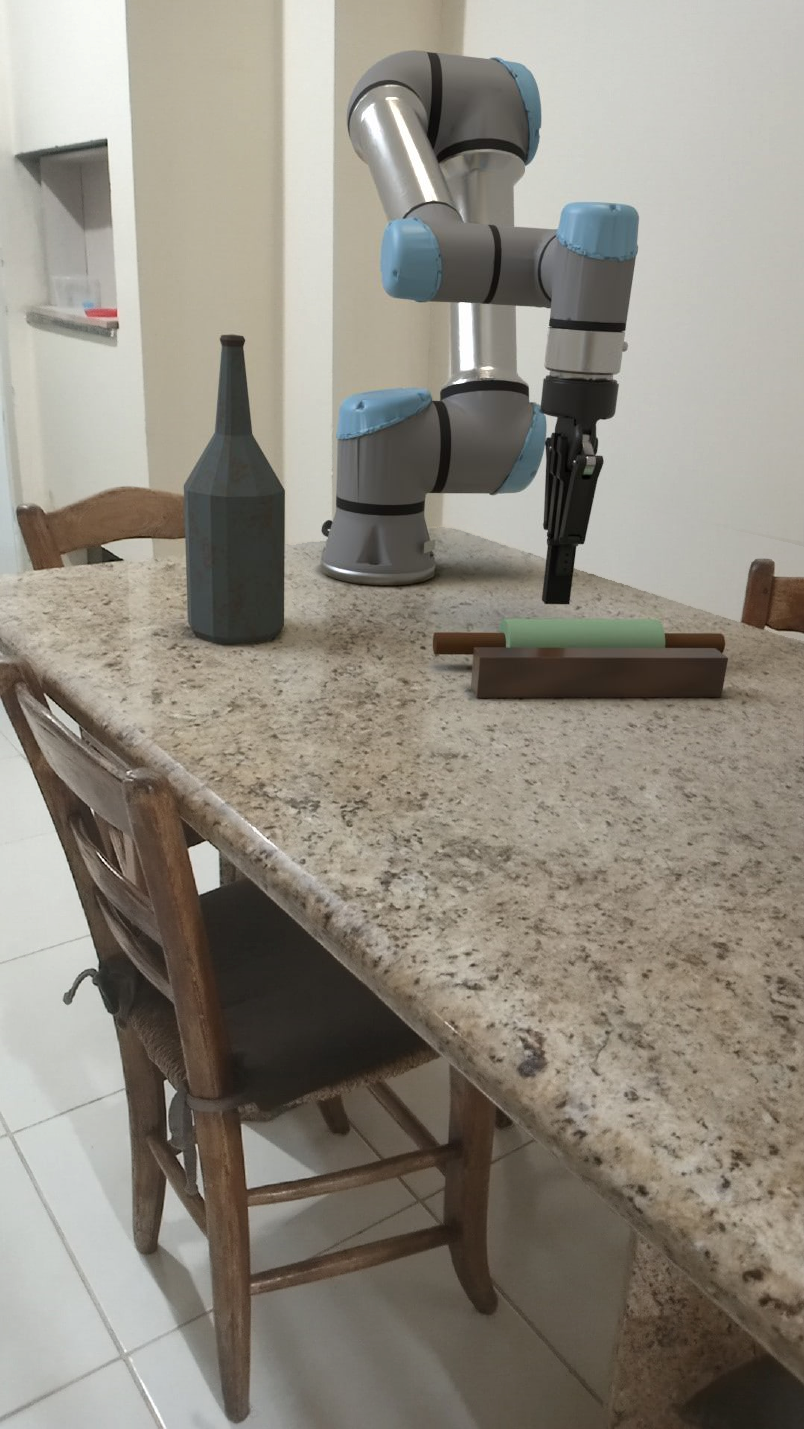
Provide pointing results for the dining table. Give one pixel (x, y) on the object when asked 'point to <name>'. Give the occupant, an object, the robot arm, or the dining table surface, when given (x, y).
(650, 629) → the rolling pin
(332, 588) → the dining table surface
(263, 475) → the bottle
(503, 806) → the dining table surface
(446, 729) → the dining table surface
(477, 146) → the robot arm
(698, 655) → the bar
